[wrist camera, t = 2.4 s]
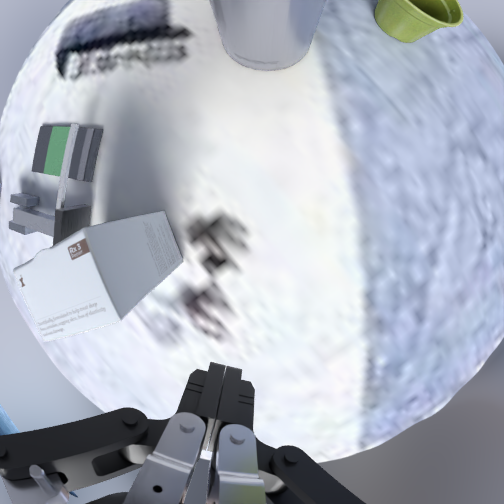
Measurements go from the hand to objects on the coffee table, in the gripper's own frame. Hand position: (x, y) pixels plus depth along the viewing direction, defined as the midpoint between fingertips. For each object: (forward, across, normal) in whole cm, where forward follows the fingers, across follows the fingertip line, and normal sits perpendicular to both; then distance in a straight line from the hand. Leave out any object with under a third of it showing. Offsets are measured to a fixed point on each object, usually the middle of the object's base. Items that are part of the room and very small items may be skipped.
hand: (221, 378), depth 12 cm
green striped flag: (+16, +30, -4) cm, 34 cm away
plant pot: (+16, -10, -34) cm, 39 cm away
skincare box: (+17, +11, 0) cm, 20 cm away
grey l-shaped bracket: (+16, +24, -4) cm, 29 cm away
